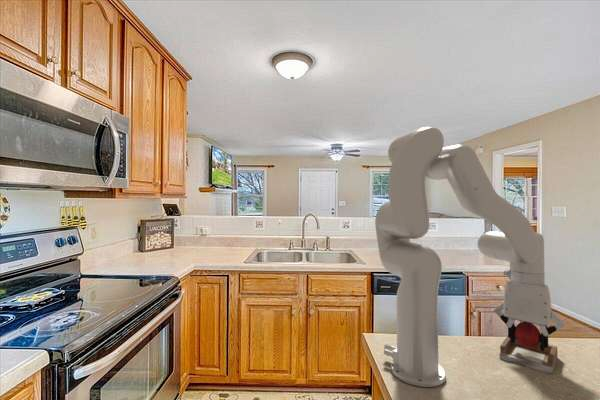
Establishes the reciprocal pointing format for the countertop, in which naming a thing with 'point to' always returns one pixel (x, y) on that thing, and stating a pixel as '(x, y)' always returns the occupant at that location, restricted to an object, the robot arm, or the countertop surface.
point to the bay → (529, 355)
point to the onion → (527, 334)
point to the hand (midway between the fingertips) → (527, 344)
